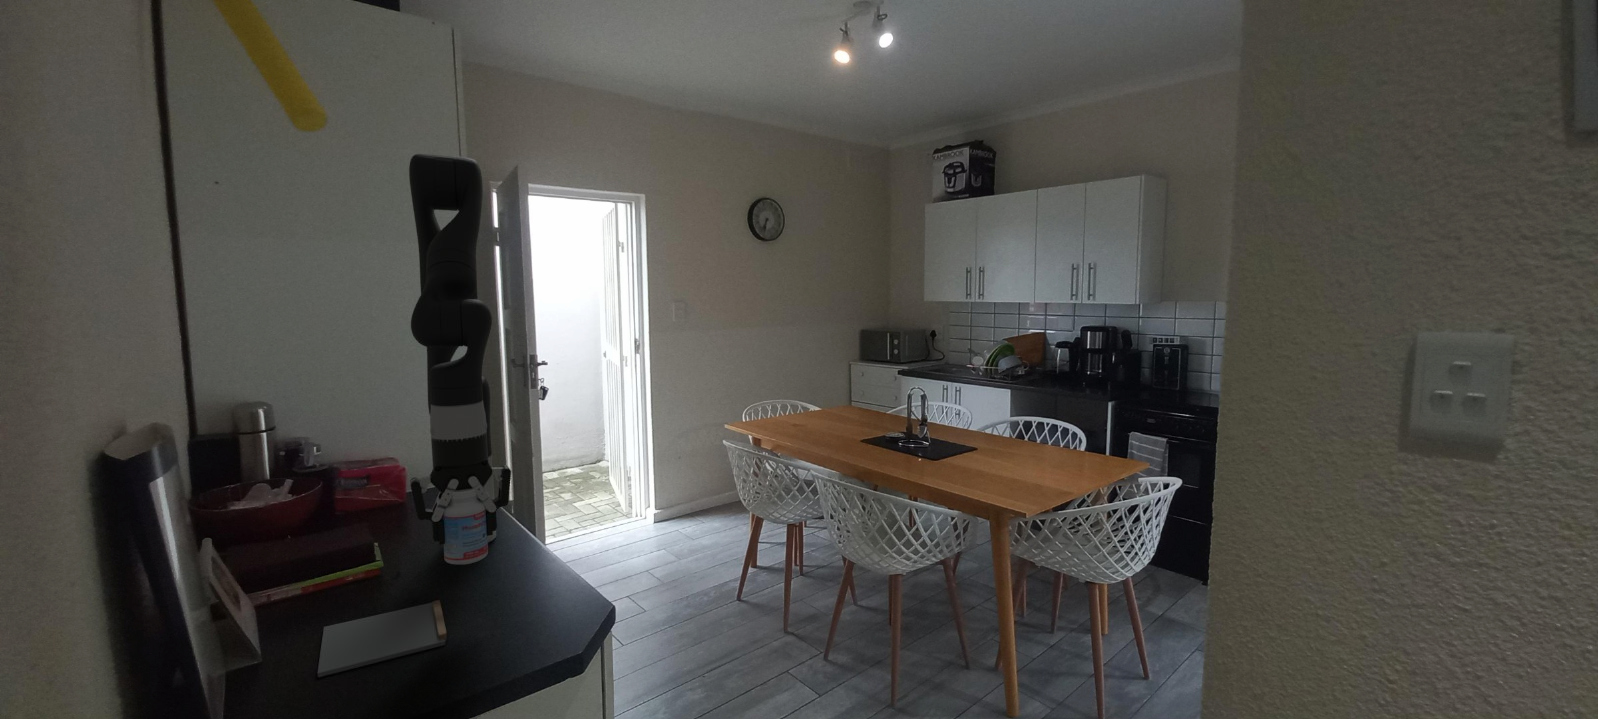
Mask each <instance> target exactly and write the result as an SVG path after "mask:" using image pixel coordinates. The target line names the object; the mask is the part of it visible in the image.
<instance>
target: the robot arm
mask: <svg viewBox="0 0 1598 719" xmlns="http://www.w3.org/2000/svg"><path fill="white" fill-rule="evenodd" d="M408 174H409V175H408V177H409V187H410V195H411V196H410V197H411V202H412V209H413V216H414V222H415V229H416V236H417V244H418V259H419V260H418V261H419V278H420V279H419V281H420V282H419V283H420V285H419V286H420V296H419V298H418V300H417V302H416V304H415V306H414V308H413V311H412V314H411V318H410V330H411V333H412V336H413V338H414V339H415V340H416V342H417V343H418V344H420V345H421V346H423V347H425V348H426V367H427V368H426V369H427V370H426V371H427V372H426V373H427V374H426V375H427V406H428V414H429V425H430V430H429V431H430V441H431V444H430V445H431V457H432V471H431V472H430V475H428V476H424V477H421V478H418V477H411V479H410V480H409V485H410V489H411V490H410V491H411V494H412V497H413V498H412V499H413V503H414V507H415V512H416V516H417V519H418V520H420V521H424V520H428V521H430V522H431V532H432V539H433V541H434V542H435V543H436V542H438V545H439V546H441V545H444V531H443V520H442V515H443V513H444V510H445V508H446V507H447V506H448V504H449V501H450V499H451V497H452V495H453V492H454V491H456V490H463V489H469V488H473V489H475V492H476V494H477V495H478V498H480V500H481V501H482V502H483V504H484V505H485V507H486V520H487V539H488V543H490V542H493V541H494V540H495V538H497V528H498V524H497V523H498V522H497V521H498V520H497V511H498V509H499V508H502V507H506V506H508V504H509V498H510V489H511V477H512V470H511V469H510V467H509V466H508V465H506V464H504V465H503V464H502V465H501V467H499V466H498V467H497V466H496V467H493V451H492V439H491V438H492V436H491V392H490V391H491V390H490V383H489V382H488V380H487V378H486V377H485V376H483V364H484V363H483V362H484V357H485V352H486V348H487V344H488V341H489V338H490V334H491V330H492V324H493V317H492V312H491V310H490V308H489V307H488V305H487V304H486V303H485V302H483V301H482V300H479V299H478V276H477V273H478V271H477V244H478V238H479V233H480V232H479V231H480V226H481V218H482V206H483V196H484V195H483V192H484V191H483V189H484V188H483V176H482V172H481V167H480V165H479V163H478V161H476V160H475V159H474V158H470V157H466V156H465V157H464V156H458V155H457V156H455V155H445V154H444V155H443V154H442V155H441V154H433V153H429V154H428V153H415V154H414V155H413V156H412V157H411V159H410V161H409V168H408ZM437 210H438V211H455V212H456V211H457V213H456V214H455V215H454V217H453V218H452V219H451V220H450V221H449V222H448V223H447V224H445V226H444V227H442V229H441V227H440V225H439V223H438V220H437V217H436V214H435V211H437ZM460 347H466V351H465V354H464V355H463V356H461V357H460V358H458V359H454V360H452V359H453V356H454V355H455V353H456V352H457V350H458V349H459V348H460ZM494 478H495V480H496V481H497V482H498V492H497V497H496V498H495V486H494ZM430 484H432V485H433V486H434V487H435V488H436V489H437V490H438V495H437V497H436V499H435V503H434V504H433V507H432V508H431V509H430V508H426V505H425V501H424V500H425V499H424V493H426V492H427V490H428V486H429V485H430Z"/></svg>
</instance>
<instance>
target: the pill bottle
mask: <svg viewBox="0 0 1598 719" xmlns="http://www.w3.org/2000/svg"><path fill="white" fill-rule="evenodd" d="M442 520H443V531H444V544H443V557H444V561H445V563H448V564H450V565H470V564H472V563H476V562H479V561H481V560H483V559H484V558H485V557H487V556H488V553H489V545H488V544H489V542H488V539H487V520H486V507H485V505H484V504H483V502H482V501H481V500H480V498H478V495H477V494H476V492H475V489H473V488H469V489H463V490H456V491H454V492H453V495H452V497H451V499H450V501H449V504H448V506H447V507H446V508H445V510H444V513H443V515H442Z"/></svg>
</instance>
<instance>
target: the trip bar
mask: <svg viewBox="0 0 1598 719" xmlns="http://www.w3.org/2000/svg"><path fill="white" fill-rule="evenodd" d="M432 603H433V609H434V614H435V620H436V625H437V630H438V636H439V639H442V638H445V642H448V635H447V628H446V625H445V624H446V623H445V619H444V614H443V610H442V604H441V600H440V599H438V600H434V601H432Z"/></svg>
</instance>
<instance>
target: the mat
mask: <svg viewBox="0 0 1598 719" xmlns="http://www.w3.org/2000/svg"><path fill="white" fill-rule="evenodd" d="M320 646H321V647H320V652H319V661H318V667H317V678H322V677H324V676H329V675H333V674H338V673H342V672H345V671H348V670H352V669H356V668H361V667H365V666H368V665H371V664H372V665H373V664H377V663H381V662H384V661H388V660H391V659H395V658H399V657H403V656H408V655H411V654H415V653H419V652H423V651H427V650H430V649H435V648H438V647H443V646H446V641H445V638H442V639H439V636H438V630H437V625H436V620H435V614H434V609H433V602H428V603H424V604H419V605H415V606H410V607H407V608H403V609H398V610H394V611H393V610H392V611H389V612H384V613H380V614H376V615H371V616H367V617H362V618H358V619H353V620H349V621H345V622H339V623H336V624H331V625H327V626H323V633H322V638H321V645H320Z"/></svg>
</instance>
